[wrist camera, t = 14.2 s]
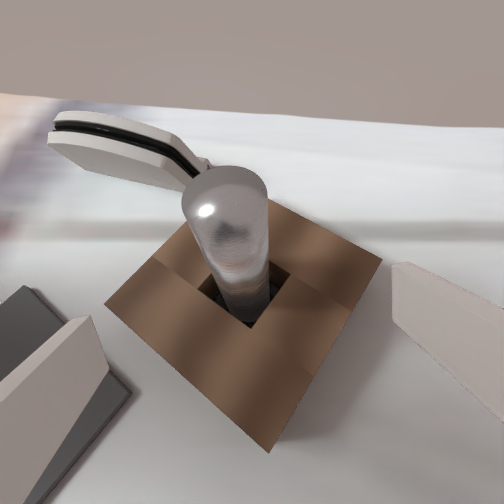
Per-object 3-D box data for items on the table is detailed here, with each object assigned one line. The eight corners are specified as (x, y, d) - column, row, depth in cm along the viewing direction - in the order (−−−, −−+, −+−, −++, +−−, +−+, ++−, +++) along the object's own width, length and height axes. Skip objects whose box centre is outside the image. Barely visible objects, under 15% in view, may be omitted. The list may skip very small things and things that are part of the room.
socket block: (129, 319, 26) (103, 304, 22) (234, 206, 31) (229, 177, 27) (269, 443, 20) (268, 453, 16) (365, 280, 26) (382, 259, 22)
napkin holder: (214, 166, 35) (182, 114, 25) (203, 200, 34) (165, 162, 24) (104, 143, 38) (37, 90, 28) (92, 175, 37) (20, 132, 28)
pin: (218, 305, 26) (163, 206, 13) (244, 273, 27) (219, 154, 14) (252, 331, 24) (230, 249, 11) (277, 296, 26) (284, 187, 13)
